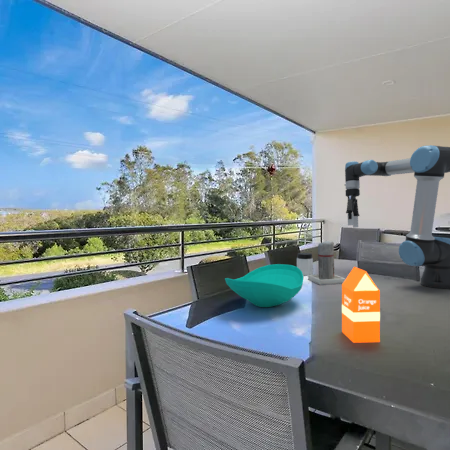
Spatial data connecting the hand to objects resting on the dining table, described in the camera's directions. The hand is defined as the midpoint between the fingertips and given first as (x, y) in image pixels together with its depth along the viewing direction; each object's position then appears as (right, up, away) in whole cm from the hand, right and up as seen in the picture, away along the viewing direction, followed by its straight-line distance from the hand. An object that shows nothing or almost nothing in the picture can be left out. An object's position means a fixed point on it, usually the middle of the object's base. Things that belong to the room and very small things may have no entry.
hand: (353, 226), depth 196 cm
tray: (-20, -28, -17) cm, 38 cm away
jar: (-26, -28, +3) cm, 39 cm away
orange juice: (-33, -32, -94) cm, 105 cm away
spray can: (-20, -28, -17) cm, 38 cm away
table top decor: (-56, -31, -59) cm, 87 cm away
